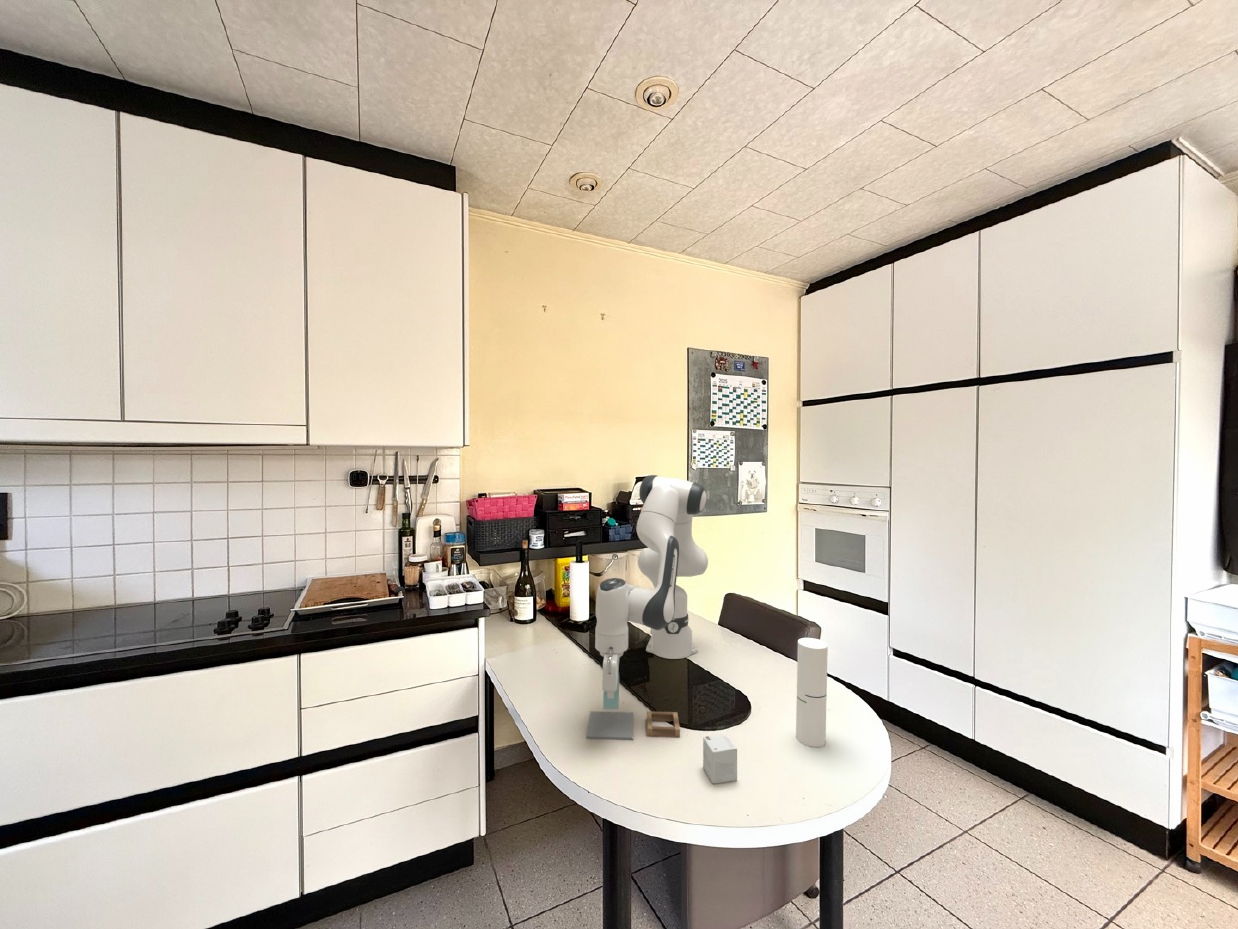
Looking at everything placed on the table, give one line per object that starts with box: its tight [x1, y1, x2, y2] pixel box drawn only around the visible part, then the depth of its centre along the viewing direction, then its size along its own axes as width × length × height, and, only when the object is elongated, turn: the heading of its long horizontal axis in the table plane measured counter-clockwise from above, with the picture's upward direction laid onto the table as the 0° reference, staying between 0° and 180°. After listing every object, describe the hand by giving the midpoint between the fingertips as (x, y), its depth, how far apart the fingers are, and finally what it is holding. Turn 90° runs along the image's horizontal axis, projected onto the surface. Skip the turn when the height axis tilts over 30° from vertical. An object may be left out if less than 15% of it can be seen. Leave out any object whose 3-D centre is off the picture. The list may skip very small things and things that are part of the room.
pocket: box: [646, 711, 681, 738], centre depth 130 cm, size 8×8×2 cm
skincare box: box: [702, 733, 738, 785], centre depth 111 cm, size 6×6×7 cm
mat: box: [585, 710, 634, 741], centre depth 130 cm, size 12×12×1 cm
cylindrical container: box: [795, 637, 829, 748], centre depth 125 cm, size 7×7×25 cm
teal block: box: [602, 671, 620, 710], centre depth 130 cm, size 4×4×8 cm
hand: (611, 692), depth 130 cm, fingers closed on teal block, 4 cm apart
